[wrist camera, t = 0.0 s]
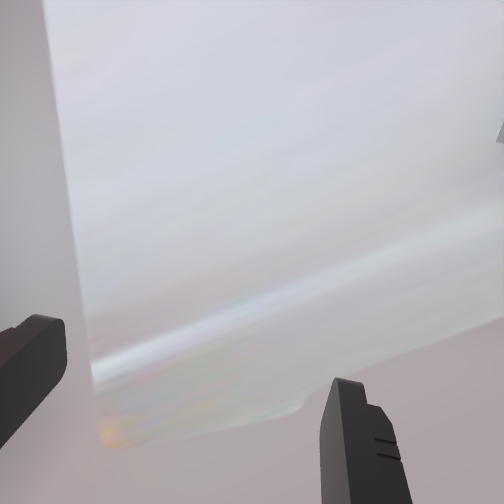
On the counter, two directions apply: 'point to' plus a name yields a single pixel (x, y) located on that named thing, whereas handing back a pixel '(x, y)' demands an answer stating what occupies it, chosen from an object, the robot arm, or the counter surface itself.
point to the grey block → (501, 135)
